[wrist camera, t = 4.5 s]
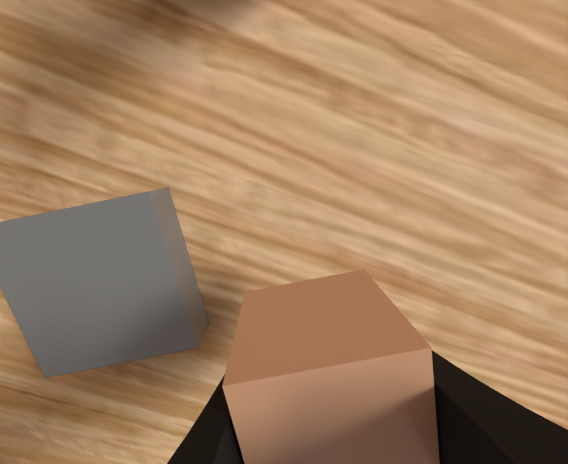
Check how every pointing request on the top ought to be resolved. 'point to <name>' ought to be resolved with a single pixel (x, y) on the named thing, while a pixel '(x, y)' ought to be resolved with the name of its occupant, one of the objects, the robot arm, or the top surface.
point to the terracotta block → (330, 377)
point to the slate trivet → (102, 283)
